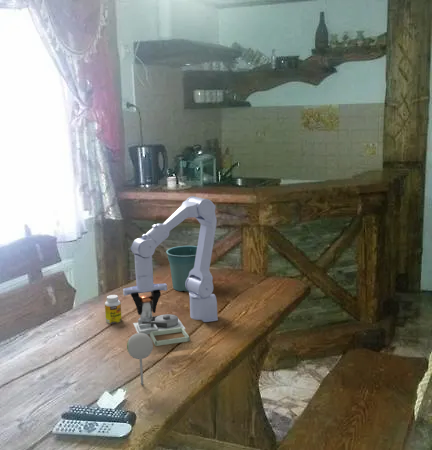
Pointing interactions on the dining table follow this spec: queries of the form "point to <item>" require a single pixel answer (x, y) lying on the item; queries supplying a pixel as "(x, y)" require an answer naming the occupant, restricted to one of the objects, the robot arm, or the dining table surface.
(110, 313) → the supplement bottle
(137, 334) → the lollipop
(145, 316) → the pin
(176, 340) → the tray
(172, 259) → the flower pot
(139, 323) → the pulley board
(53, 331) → the dining table surface
